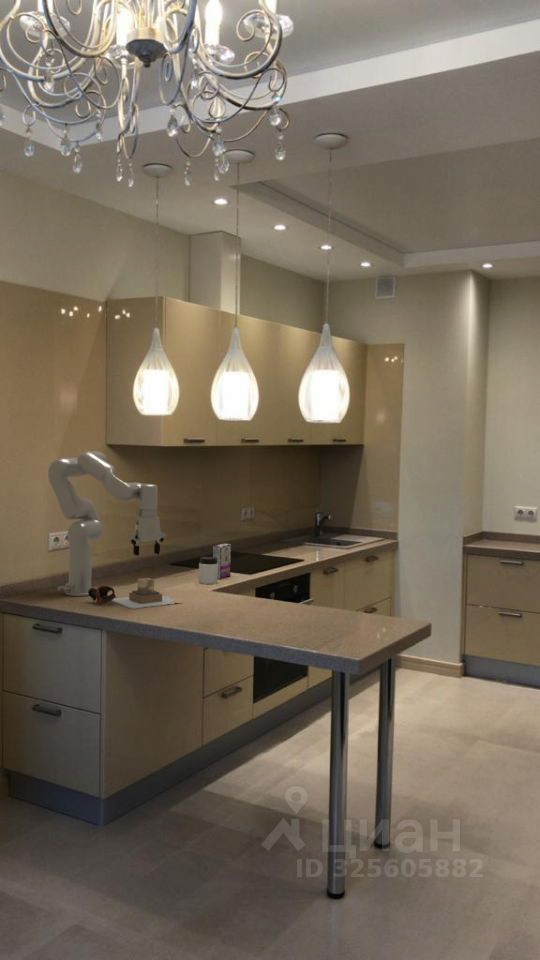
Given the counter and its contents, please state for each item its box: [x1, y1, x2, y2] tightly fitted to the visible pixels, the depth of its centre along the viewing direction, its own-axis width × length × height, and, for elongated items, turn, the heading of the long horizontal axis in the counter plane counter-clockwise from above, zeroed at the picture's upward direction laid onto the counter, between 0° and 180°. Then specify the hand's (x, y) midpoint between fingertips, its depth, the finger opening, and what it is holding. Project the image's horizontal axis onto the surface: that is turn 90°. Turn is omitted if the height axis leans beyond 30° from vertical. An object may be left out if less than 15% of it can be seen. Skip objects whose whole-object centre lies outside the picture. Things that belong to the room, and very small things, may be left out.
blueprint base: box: [110, 589, 176, 610], centre depth 352 cm, size 24×20×4 cm
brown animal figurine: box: [88, 585, 117, 606], centre depth 347 cm, size 12×10×8 cm
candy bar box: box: [212, 543, 232, 580], centre depth 419 cm, size 11×5×16 cm, turn 156°
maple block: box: [137, 577, 155, 594], centre depth 352 cm, size 5×5×6 cm
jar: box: [198, 556, 218, 585], centre depth 403 cm, size 9×8×12 cm
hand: (146, 554), depth 352 cm, fingers open, 9 cm apart
